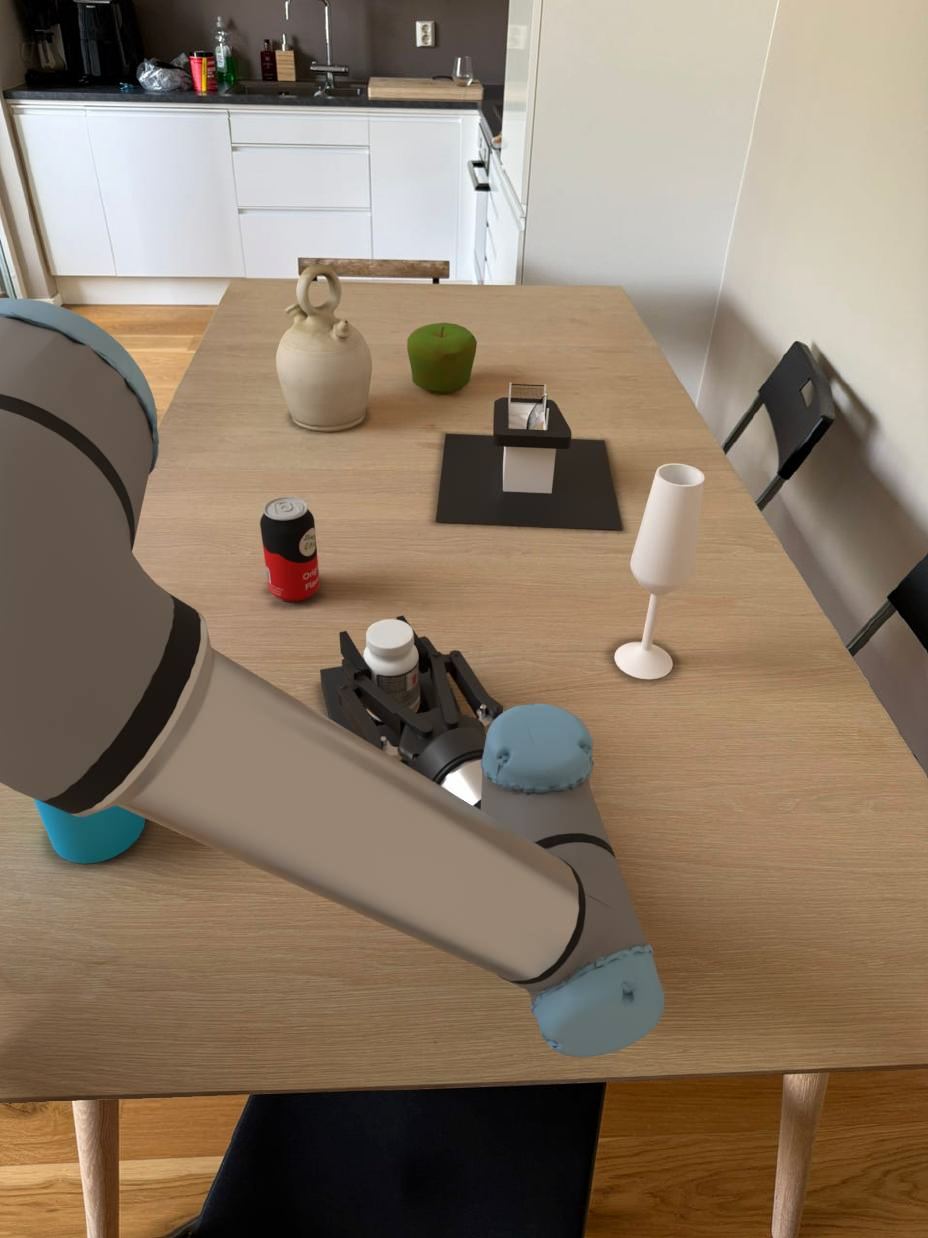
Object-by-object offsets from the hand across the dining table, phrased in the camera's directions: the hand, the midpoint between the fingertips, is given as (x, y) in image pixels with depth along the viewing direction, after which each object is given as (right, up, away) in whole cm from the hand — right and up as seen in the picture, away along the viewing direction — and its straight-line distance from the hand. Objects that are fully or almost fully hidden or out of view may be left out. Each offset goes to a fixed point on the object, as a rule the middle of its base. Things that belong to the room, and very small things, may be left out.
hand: (372, 634), depth 93 cm
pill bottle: (+2, -8, 0) cm, 8 cm away
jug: (-13, +36, +58) cm, 70 cm away
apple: (+5, +44, +69) cm, 82 cm away
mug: (-23, -16, -10) cm, 30 cm away
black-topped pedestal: (+19, +23, +43) cm, 52 cm away
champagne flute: (+30, -3, +10) cm, 32 cm away
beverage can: (-12, +5, +18) cm, 22 cm away
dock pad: (+2, -9, +1) cm, 9 cm away
